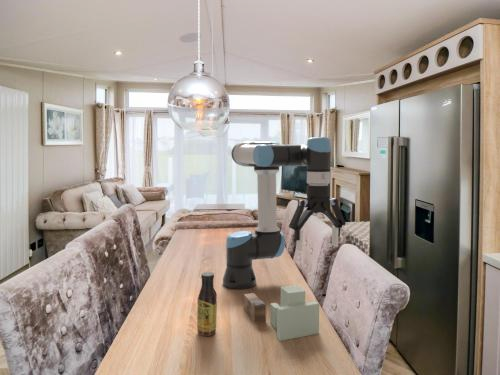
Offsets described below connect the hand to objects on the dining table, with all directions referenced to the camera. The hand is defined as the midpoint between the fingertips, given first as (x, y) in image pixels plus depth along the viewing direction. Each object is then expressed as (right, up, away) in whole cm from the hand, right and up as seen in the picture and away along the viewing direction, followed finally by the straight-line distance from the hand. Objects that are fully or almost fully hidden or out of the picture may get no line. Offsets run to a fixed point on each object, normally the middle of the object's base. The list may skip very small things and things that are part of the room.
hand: (317, 248), depth 118 cm
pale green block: (-8, -27, -1) cm, 28 cm away
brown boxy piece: (-21, -26, +10) cm, 35 cm away
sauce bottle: (-37, -28, -2) cm, 46 cm away
